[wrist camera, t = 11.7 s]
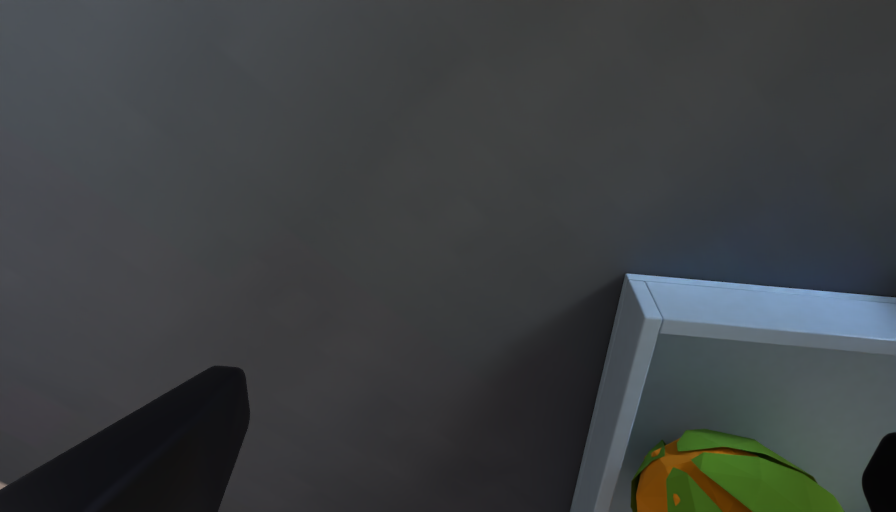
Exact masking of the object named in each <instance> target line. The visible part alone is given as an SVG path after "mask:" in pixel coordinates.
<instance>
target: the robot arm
mask: <svg viewBox="0 0 896 512" xmlns="http://www.w3.org/2000/svg"><path fill="white" fill-rule="evenodd" d="M249 420H250V408H249V400H248V392H247V384H246V376H245V373H244V371H243V370H242V369H240V368H238V367H228V366H212V367H210V368H208V369H207V370H205V371H203V372H201V373H200V374H198V375H196V376H195V377H193V378H191V379H189V380H188V381H186V382H184V383H183V384H181V385H179V386H177V387H176V388H174V389H172V390H170V391H169V392H167V393H165V394H164V395H162V396H160V397H158V398H157V399H155V400H153V401H152V402H150V403H148V404H146V405H145V406H143V407H141V408H140V409H138V410H136V411H134V412H133V413H131V414H129V415H128V416H126V417H124V418H122V419H121V420H119V421H117V422H116V423H114V424H112V425H110V426H109V427H107V428H105V429H104V430H102V431H100V432H98V433H97V434H95V435H93V436H92V437H90V438H88V439H86V440H85V441H83V442H81V443H80V444H78V445H76V446H74V447H73V448H71V449H69V450H68V451H66V452H64V453H62V454H61V455H59V456H57V457H56V458H54V459H52V460H50V461H49V462H47V463H45V464H44V465H42V466H40V467H38V468H37V469H35V470H33V471H31V472H30V473H28V474H26V475H25V476H23V477H21V478H19V479H18V480H16V481H14V482H13V483H11V484H9V485H7V486H6V487H4V488H3V489H1V490H0V512H218V510H219V507H220V504H221V501H222V498H223V496H224V493H225V490H226V487H227V485H228V482H229V479H230V476H231V473H232V471H233V468H234V465H235V462H236V459H237V457H238V454H239V451H240V448H241V446H242V443H243V440H244V437H245V434H246V432H247V429H248V425H249ZM862 489H863V492H864V495H865V498H866V500H867V503H868V505H869V507H870V510H871V512H896V432H892V433H888V434H887V435H885V436H884V437H883V438H882V439H881V441H880V443H879V445H878V446H877V448H876V450H875V452H874V454H873V455H872V457H871V459H870V461H869V463H868V465H867V466H866V468H865V470H864V472H863V475H862Z"/></svg>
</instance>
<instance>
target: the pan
mask: <svg viewBox="0 0 896 512" xmlns="http://www.w3.org/2000/svg"><path fill="white" fill-rule="evenodd" d="M694 429H709V430H713V431H718V432H723V433H727V434H732V435H737V436H741V437H746V438H751V439H755V440H756V441H758V442H759V443H761V444H762V445H763V446H765V447H767V448H768V449H770V450H771V451H773V452H775V453H776V454H778V455H779V456H781V457H783V458H784V459H786V460H788V461H789V462H791V463H792V464H794V465H796V466H797V467H799V468H800V469H802V470H804V471H805V472H807V473H808V474H810V475H812V476H813V477H814V478H815V480H816V482H817V483H818V485H820V486H821V487H823V488H824V489H826V490H827V491H828V492H830V493H831V494H833V495H834V496H835V498H836V499H837V501H838V502H839V504H840V505H841V507H842V508H843V510H844V511H845V512H871V510H870V507H869V505H868V503H867V500H866V498H865V495H864V492H863V489H862V475H863V472H864V470H865V468H866V466H867V465H868V463H869V461H870V459H871V457H872V455H873V454H874V452H875V450H876V448H877V446H878V445H879V443H880V441H881V439H882V438H883V437H884V436H885V435H887V434H888V433H892V432H896V298H895V297H883V296H872V295H861V294H850V293H839V292H828V291H816V290H805V289H794V288H783V287H772V286H761V285H750V284H738V283H727V282H716V281H705V280H694V279H683V278H671V277H660V276H649V275H638V274H625V278H624V282H623V286H622V291H621V295H620V299H619V304H618V308H617V312H616V316H615V321H614V325H613V329H612V334H611V338H610V342H609V346H608V351H607V355H606V359H605V363H604V368H603V372H602V376H601V381H600V385H599V389H598V393H597V398H596V402H595V406H594V411H593V415H592V419H591V423H590V428H589V432H588V436H587V441H586V445H585V449H584V453H583V458H582V462H581V466H580V471H579V475H578V479H577V483H576V488H575V492H574V496H573V501H572V505H571V509H570V512H633V511H632V509H631V507H630V505H631V481H632V479H633V478H634V476H635V474H636V472H637V471H638V469H639V467H640V466H641V464H642V462H643V461H644V457H645V456H646V455H647V454H648V452H649V451H650V450H651V449H652V448H654V447H655V446H656V445H657V444H658V443H659V442H660V441H661V440H663V441H664V442H665V443H666V445H667V444H669V443H671V442H673V441H675V440H677V439H679V438H681V436H682V435H683V434H684V432H685V431H686V430H694Z"/></svg>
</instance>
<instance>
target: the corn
mask: <svg viewBox="0 0 896 512" xmlns="http://www.w3.org/2000/svg"><path fill="white" fill-rule="evenodd" d="M630 507H631V509H632V511H633V512H845V511H844V510H843V508H842V507H841V505H840V504H839V502H838V501H837V499H836V498H835V496H834V495H833V494H831V493H830V492H828V491H827V490H826V489H824V488H823V487H821V486H820V485H818V483H817V482H816V480H815V478H814V477H813V476H812V475H810V474H808V473H807V472H805V471H804V470H802V469H800V468H799V467H797V466H796V465H794V464H792V463H791V462H789V461H788V460H786V459H784V458H783V457H781V456H779V455H778V454H776V453H775V452H773V451H771V450H770V449H768V448H767V447H765V446H763V445H762V444H761V443H759V442H758V441H756V440H755V439H751V438H746V437H741V436H737V435H732V434H727V433H723V432H718V431H713V430H709V429H694V430H686V431H685V432H684V434H683V435H682V436H681V438H679V439H677V440H675V441H673V442H671V443H669V444H667V445H666V443H665V442H664V441H663V440H661V441H660V442H659V443H658V444H657V445H656V446H655V447H654V448H652V449H651V450H650V451H649V452H648V454H647V455H646V456H645V457H644V461H643V462H642V464H641V466H640V467H639V469H638V471H637V472H636V474H635V476H634V478H633V479H632V481H631V505H630Z"/></svg>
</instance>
